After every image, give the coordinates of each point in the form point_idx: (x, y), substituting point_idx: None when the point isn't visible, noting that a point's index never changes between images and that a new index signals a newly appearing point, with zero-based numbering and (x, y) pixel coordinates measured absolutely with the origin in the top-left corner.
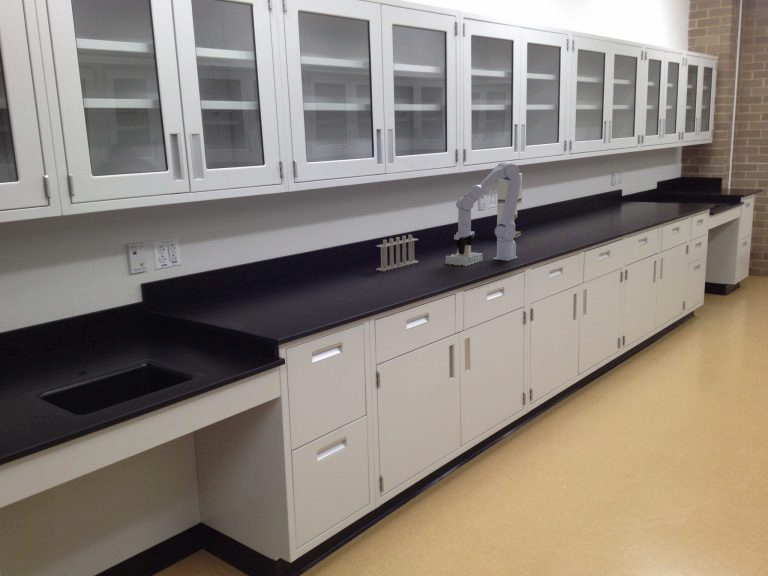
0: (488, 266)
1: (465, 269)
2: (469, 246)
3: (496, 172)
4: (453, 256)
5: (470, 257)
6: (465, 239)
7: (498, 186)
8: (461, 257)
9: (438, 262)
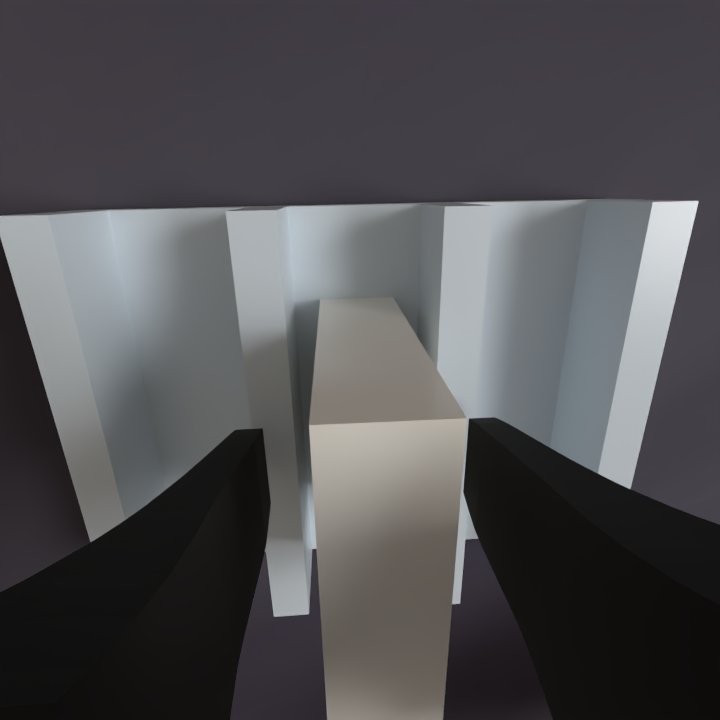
0: (307, 685)
1: None
2: (364, 707)
3: None
4: (89, 381)
5: (271, 590)
6: (665, 698)
7: None
8: None
9: (77, 6)
